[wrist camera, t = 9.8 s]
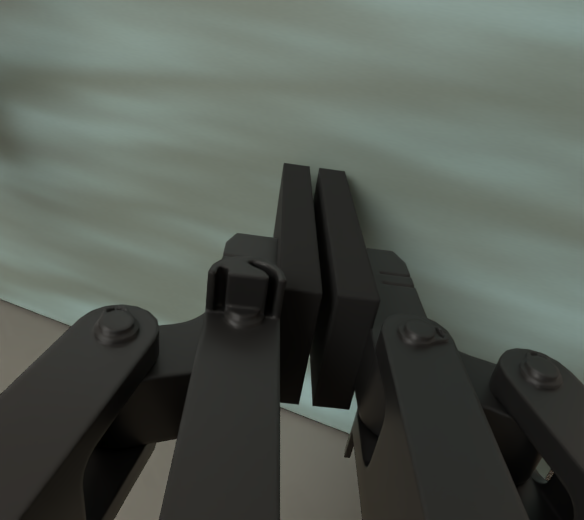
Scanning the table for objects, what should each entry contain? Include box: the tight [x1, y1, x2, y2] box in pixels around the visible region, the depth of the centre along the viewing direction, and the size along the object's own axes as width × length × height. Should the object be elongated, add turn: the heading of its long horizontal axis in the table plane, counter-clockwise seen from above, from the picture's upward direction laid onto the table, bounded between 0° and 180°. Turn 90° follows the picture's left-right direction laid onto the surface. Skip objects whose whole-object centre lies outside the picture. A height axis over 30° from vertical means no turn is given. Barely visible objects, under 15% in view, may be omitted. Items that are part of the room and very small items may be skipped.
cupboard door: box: [0, 0, 584, 479], centre depth 12 cm, size 7×26×24 cm, turn 70°
